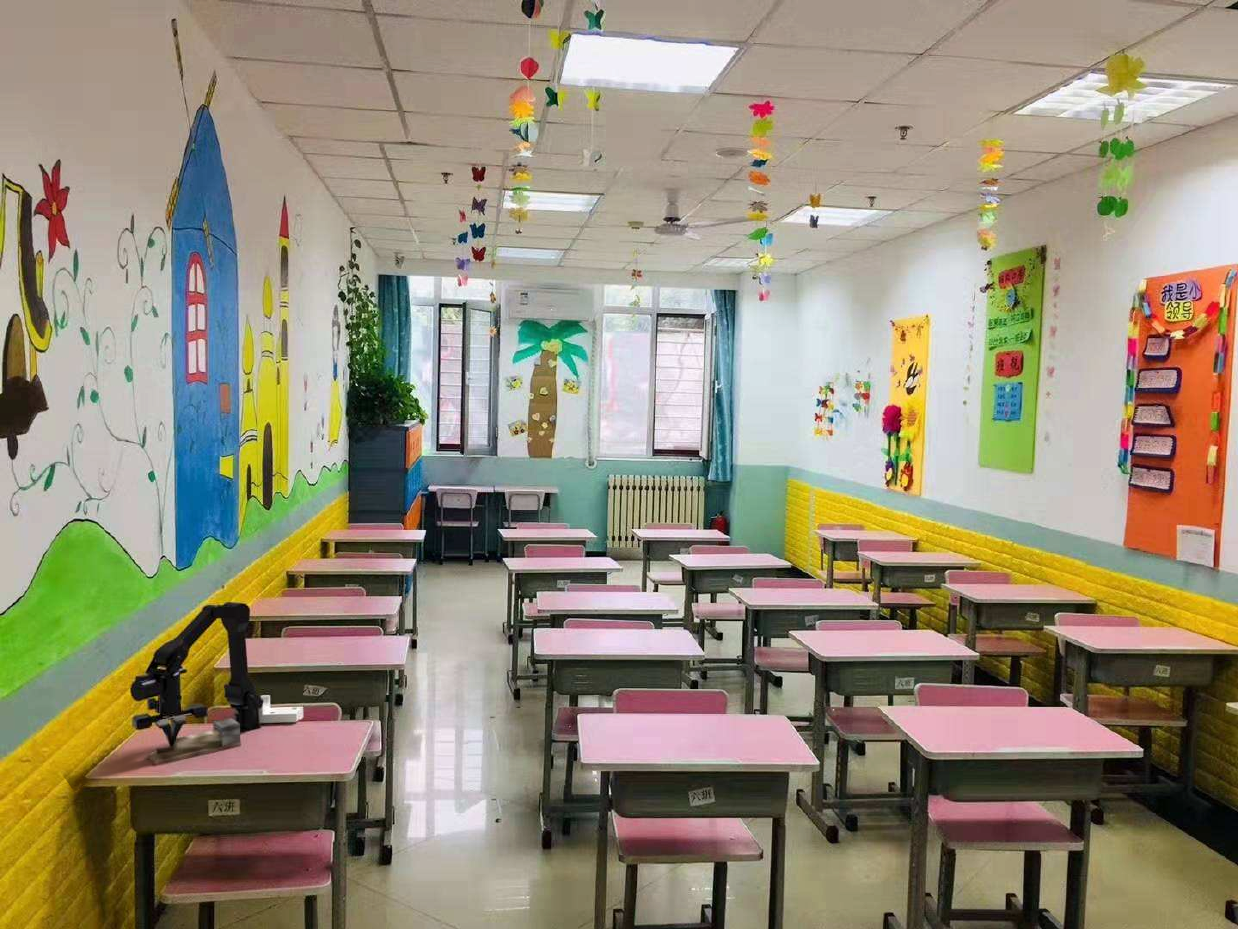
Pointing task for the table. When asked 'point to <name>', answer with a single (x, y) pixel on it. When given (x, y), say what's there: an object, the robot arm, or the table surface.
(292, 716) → the bracket
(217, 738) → the grey beige long block
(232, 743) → the base
